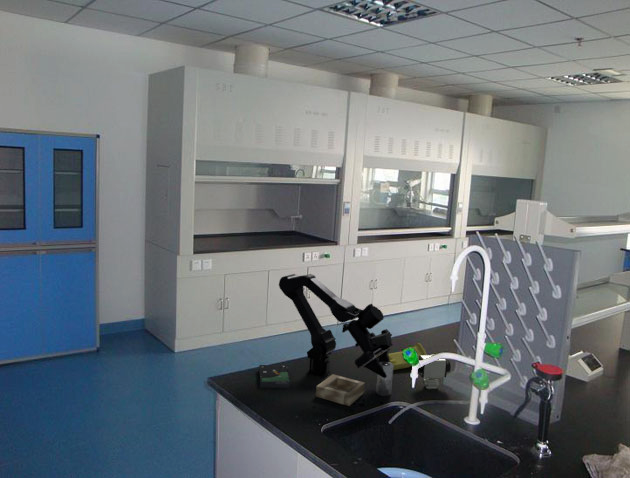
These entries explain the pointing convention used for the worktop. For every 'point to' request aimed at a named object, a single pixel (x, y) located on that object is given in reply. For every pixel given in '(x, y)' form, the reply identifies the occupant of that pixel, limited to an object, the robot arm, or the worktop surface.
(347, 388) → the square wooden tray
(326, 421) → the worktop surface
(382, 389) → the bushing
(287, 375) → the disk drive
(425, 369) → the pneumatic valve
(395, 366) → the plastic component
